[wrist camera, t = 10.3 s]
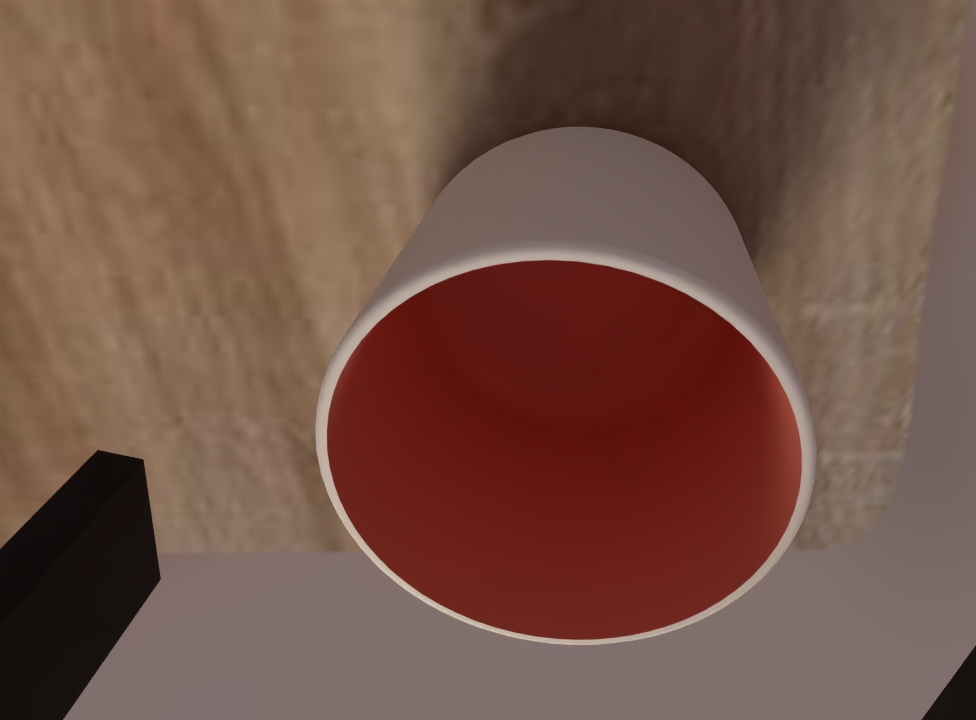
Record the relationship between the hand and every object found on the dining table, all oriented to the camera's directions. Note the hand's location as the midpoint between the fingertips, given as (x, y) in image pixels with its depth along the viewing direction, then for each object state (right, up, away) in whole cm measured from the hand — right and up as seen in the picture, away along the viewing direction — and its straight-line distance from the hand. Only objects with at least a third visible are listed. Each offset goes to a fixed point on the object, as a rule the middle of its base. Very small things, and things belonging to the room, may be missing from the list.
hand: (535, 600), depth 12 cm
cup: (+2, +7, +12) cm, 14 cm away
